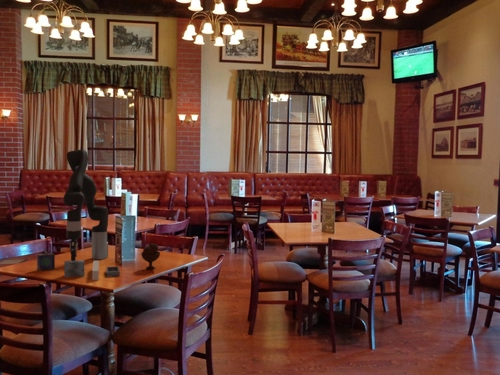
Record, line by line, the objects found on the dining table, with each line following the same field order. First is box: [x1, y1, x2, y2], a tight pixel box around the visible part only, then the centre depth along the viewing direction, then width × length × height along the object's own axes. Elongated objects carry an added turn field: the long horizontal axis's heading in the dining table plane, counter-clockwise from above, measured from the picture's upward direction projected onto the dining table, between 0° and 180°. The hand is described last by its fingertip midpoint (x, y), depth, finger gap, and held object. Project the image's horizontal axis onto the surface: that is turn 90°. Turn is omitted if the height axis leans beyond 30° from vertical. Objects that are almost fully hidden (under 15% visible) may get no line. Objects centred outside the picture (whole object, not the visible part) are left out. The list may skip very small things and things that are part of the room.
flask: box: [36, 250, 56, 271], centre depth 256 cm, size 9×3×11 cm, turn 109°
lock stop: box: [63, 259, 85, 278], centre depth 244 cm, size 10×4×8 cm, turn 108°
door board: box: [91, 260, 100, 281], centre depth 248 cm, size 24×3×5 cm, turn 18°
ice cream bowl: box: [140, 243, 161, 271], centre depth 263 cm, size 11×11×15 cm
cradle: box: [105, 266, 121, 278], centre depth 251 cm, size 13×7×2 cm, turn 18°
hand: (73, 258), depth 244 cm, fingers open, 8 cm apart
